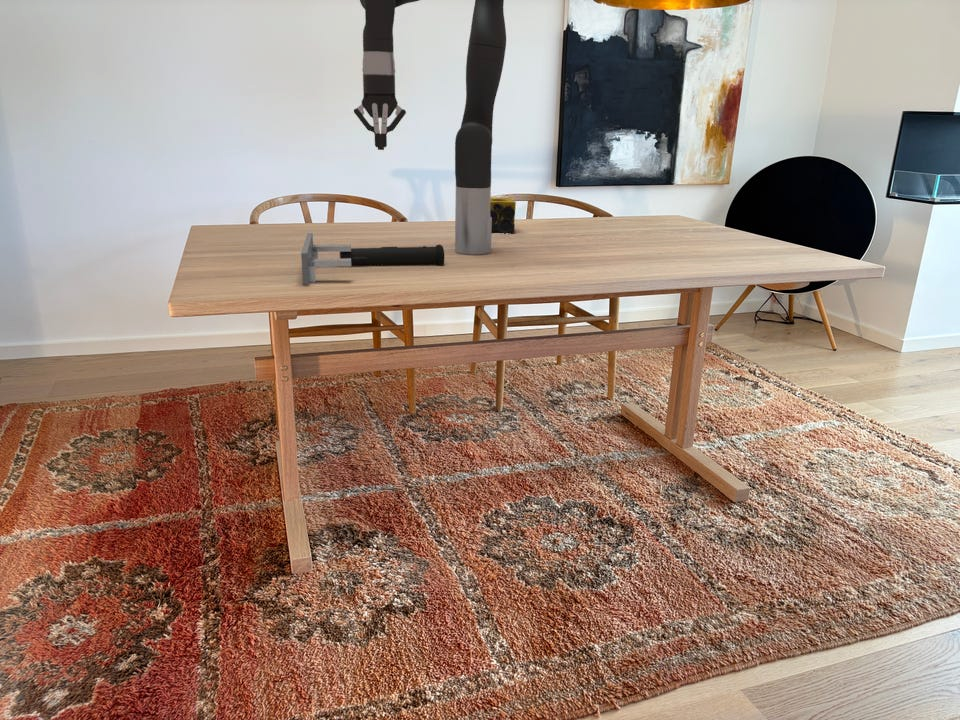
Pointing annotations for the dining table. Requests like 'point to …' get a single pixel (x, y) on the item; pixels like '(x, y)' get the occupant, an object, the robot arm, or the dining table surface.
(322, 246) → the grey u-shaped bracket
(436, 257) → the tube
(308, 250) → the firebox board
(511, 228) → the black and yellow cube
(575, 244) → the dining table surface
